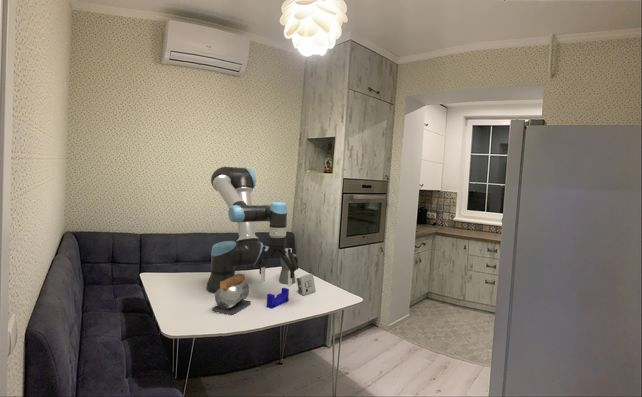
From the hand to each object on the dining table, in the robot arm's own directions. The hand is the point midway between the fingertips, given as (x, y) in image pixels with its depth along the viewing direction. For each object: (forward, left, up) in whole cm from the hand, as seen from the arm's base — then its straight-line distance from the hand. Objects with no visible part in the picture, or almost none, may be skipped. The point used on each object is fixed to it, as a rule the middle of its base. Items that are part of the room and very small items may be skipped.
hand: (276, 283), depth 151 cm
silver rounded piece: (-14, -13, -9) cm, 21 cm away
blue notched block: (0, 0, -10) cm, 10 cm away
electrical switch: (+7, +20, -10) cm, 23 cm away
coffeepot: (-8, +32, -10) cm, 35 cm away
